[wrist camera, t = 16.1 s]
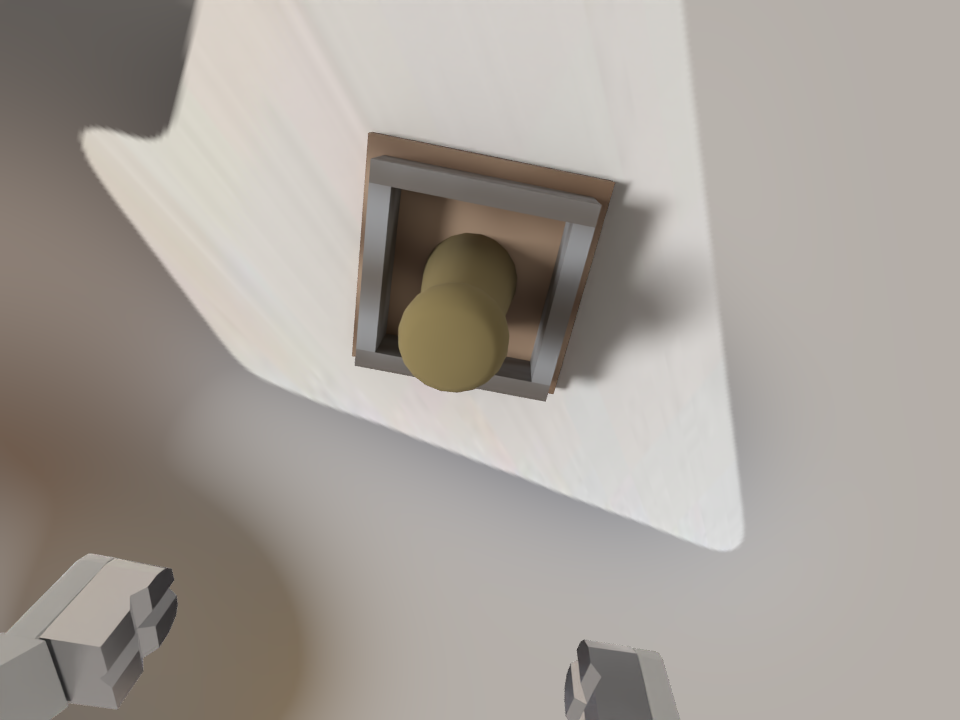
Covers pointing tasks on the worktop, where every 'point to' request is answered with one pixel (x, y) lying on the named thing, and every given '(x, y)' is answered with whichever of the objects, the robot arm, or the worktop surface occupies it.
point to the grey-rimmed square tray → (480, 210)
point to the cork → (459, 314)
